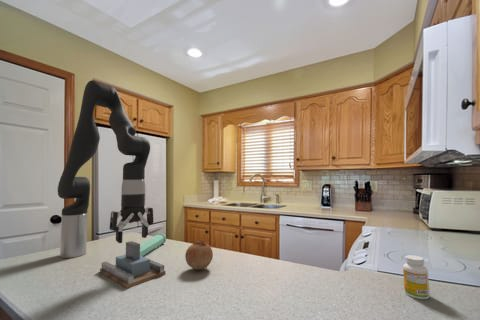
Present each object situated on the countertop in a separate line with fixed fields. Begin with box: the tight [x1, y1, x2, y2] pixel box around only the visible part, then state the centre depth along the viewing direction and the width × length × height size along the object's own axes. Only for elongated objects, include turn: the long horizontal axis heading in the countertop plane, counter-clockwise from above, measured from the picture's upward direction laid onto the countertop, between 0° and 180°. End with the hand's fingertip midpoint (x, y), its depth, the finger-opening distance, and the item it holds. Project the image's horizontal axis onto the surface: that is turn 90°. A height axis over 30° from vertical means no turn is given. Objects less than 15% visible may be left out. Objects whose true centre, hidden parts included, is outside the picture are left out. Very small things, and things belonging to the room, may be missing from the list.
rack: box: [99, 259, 167, 289], centre depth 82 cm, size 20×13×3 cm, turn 50°
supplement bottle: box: [402, 254, 431, 300], centre depth 64 cm, size 5×5×10 cm
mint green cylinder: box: [139, 232, 167, 257], centre depth 106 cm, size 6×6×25 cm
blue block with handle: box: [115, 240, 151, 277], centre depth 82 cm, size 12×6×9 cm, turn 50°
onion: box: [184, 240, 214, 271], centre depth 84 cm, size 10×9×10 cm
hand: (132, 240), depth 83 cm, fingers open, 8 cm apart
